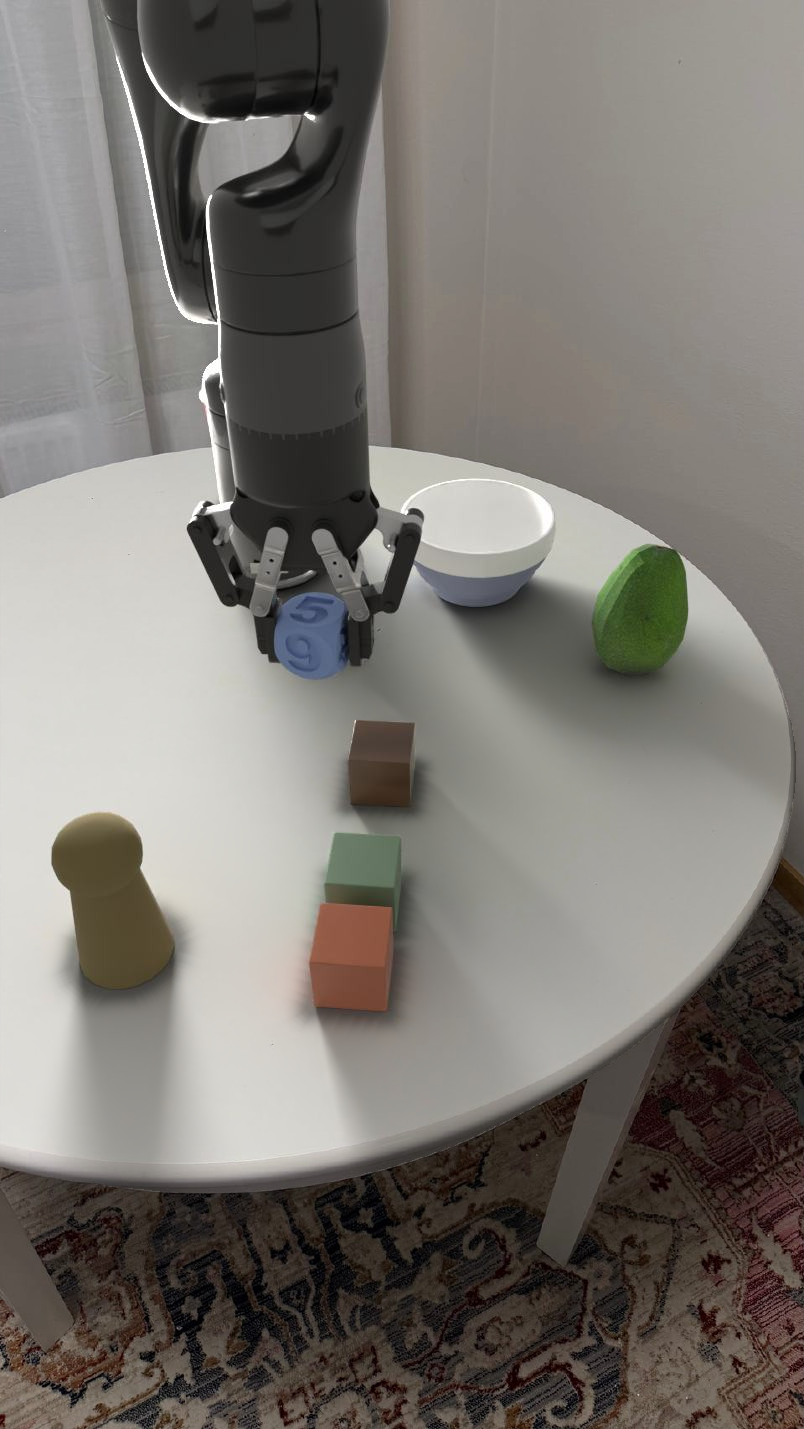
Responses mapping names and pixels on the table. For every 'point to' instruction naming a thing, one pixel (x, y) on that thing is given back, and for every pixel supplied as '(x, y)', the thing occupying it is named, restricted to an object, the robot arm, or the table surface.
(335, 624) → the decorative dice
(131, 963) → the tan ball-topped figurine
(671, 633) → the avocado
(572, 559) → the table surface
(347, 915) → the terracotta block
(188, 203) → the robot arm
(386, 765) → the walnut block
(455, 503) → the bowl
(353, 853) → the sage block
